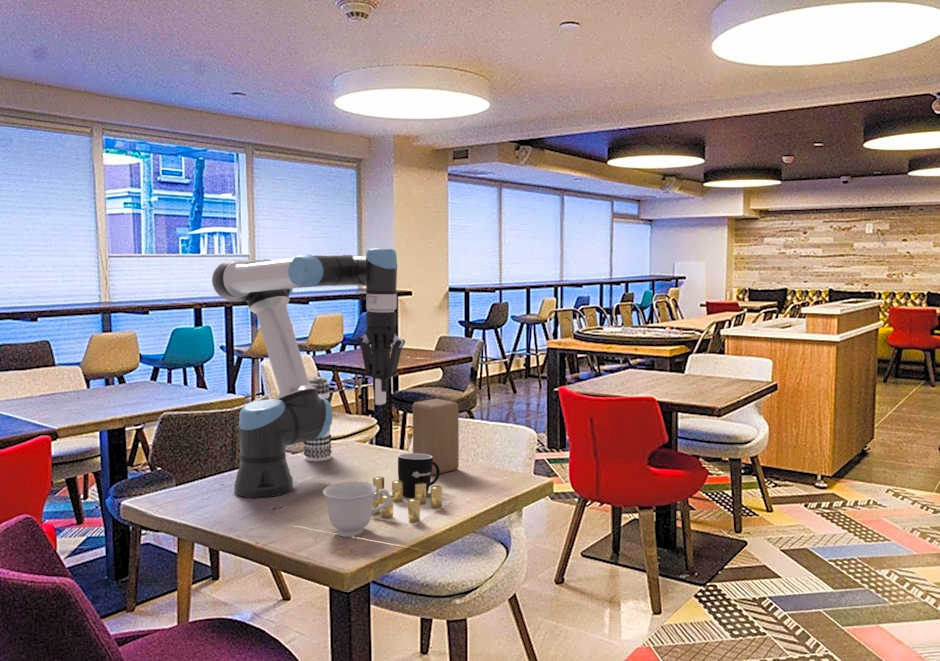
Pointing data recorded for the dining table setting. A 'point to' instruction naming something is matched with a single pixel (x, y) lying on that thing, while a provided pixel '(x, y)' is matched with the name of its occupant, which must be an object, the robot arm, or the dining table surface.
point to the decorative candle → (321, 446)
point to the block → (437, 432)
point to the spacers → (398, 497)
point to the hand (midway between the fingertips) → (380, 403)
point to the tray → (402, 511)
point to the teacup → (352, 505)
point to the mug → (415, 471)
